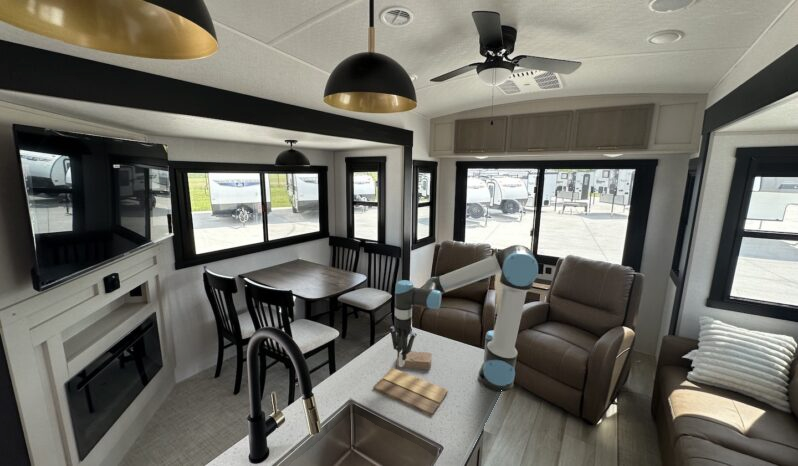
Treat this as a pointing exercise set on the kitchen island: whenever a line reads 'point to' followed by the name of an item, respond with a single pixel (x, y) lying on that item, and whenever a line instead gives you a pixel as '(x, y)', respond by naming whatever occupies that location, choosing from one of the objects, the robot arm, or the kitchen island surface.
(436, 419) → the kitchen island surface
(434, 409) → the laid row
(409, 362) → the brick
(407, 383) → the plank
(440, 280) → the robot arm
